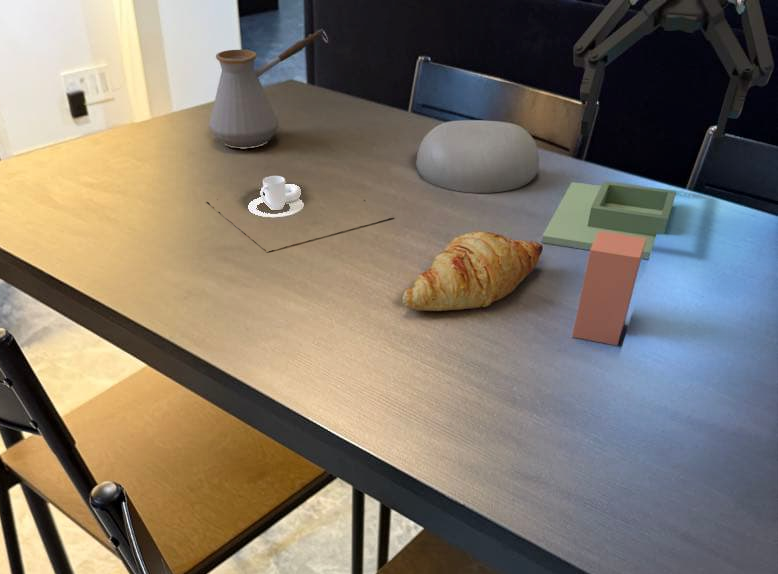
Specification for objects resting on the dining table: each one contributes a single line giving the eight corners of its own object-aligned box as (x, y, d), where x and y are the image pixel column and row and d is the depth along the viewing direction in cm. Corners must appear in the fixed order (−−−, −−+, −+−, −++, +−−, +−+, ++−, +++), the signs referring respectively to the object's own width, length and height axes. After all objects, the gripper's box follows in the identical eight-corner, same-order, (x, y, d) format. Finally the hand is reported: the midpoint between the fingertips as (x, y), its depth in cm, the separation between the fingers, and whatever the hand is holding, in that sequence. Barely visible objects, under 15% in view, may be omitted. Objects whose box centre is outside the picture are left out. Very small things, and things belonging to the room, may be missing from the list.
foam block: (624, 324, 87) (646, 237, 79) (617, 345, 83) (640, 257, 76) (580, 316, 88) (598, 230, 81) (572, 337, 85) (590, 249, 77)
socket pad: (709, 208, 109) (717, 182, 107) (697, 267, 96) (705, 240, 94) (570, 188, 114) (575, 164, 112) (541, 242, 101) (545, 216, 99)
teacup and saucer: (292, 193, 113) (290, 164, 110) (318, 211, 109) (317, 181, 106) (239, 205, 110) (235, 176, 107) (264, 225, 105) (260, 195, 102)
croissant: (419, 352, 89) (443, 310, 81) (372, 285, 90) (391, 238, 83) (547, 295, 97) (578, 252, 90) (502, 235, 99) (530, 188, 92)
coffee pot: (223, 158, 124) (209, 51, 113) (203, 136, 131) (188, 34, 120) (343, 139, 130) (340, 36, 119) (318, 119, 137) (313, 20, 127)
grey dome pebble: (414, 138, 109) (421, 103, 120) (412, 191, 114) (419, 152, 125) (547, 143, 107) (542, 106, 119) (539, 196, 113) (535, 156, 124)
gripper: (822, -28, 80) (764, 170, 81) (585, -44, 87) (534, 140, 87) (846, -86, 73) (783, 132, 74) (586, -99, 79) (531, 102, 80)
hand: (648, 137), depth 81 cm, fingers open, 13 cm apart
